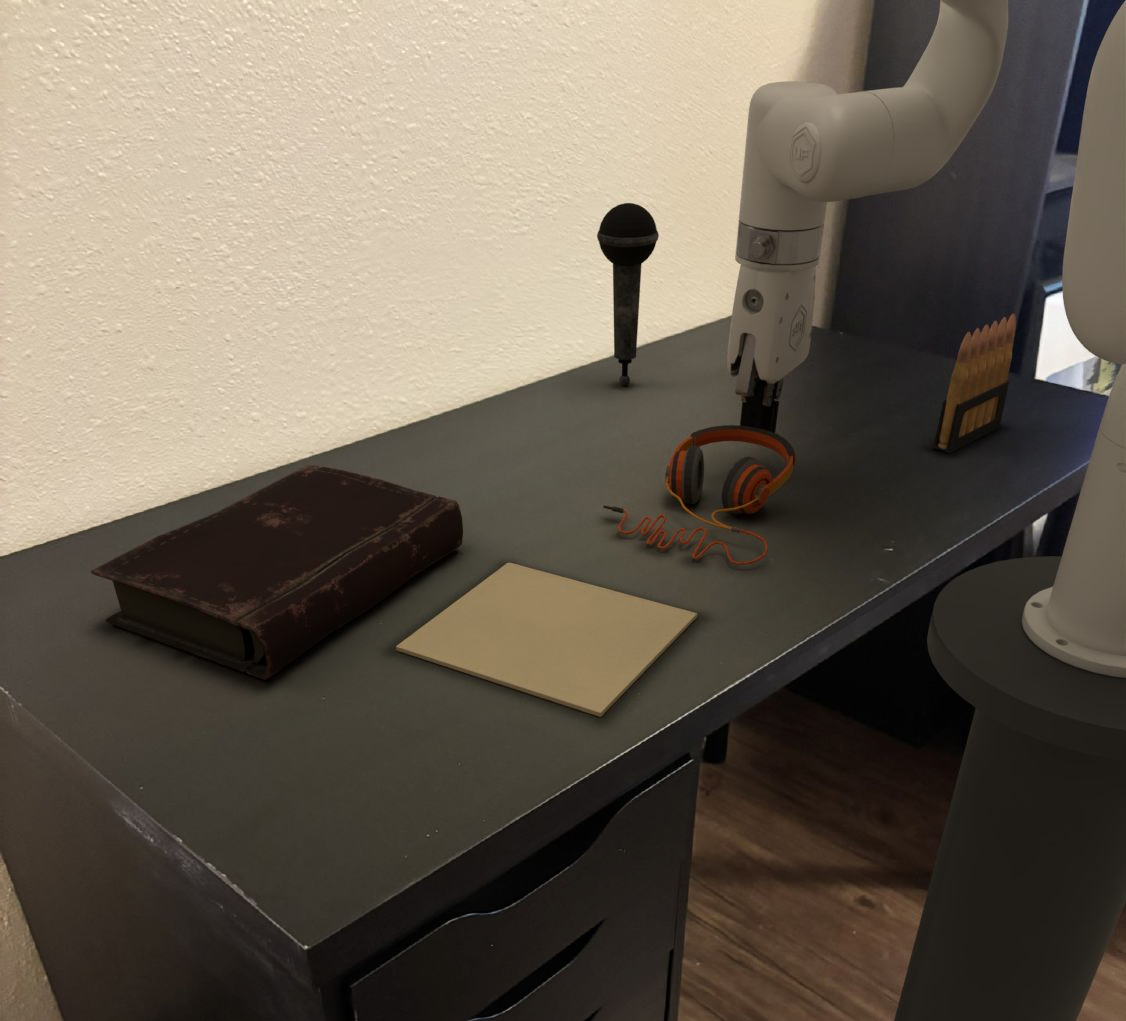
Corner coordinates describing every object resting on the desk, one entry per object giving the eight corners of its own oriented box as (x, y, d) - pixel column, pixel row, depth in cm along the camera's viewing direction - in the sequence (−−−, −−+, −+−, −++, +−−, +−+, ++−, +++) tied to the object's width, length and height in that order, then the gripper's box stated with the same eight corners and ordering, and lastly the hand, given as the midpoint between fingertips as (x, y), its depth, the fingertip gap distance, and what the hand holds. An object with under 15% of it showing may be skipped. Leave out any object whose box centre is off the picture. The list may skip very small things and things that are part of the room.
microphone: (628, 372, 137) (632, 194, 125) (664, 387, 132) (672, 204, 120) (584, 384, 133) (584, 202, 121) (620, 399, 129) (623, 212, 117)
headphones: (753, 597, 96) (837, 472, 106) (752, 548, 92) (840, 423, 103) (585, 554, 103) (680, 441, 113) (578, 507, 99) (677, 394, 110)
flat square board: (697, 617, 89) (697, 613, 88) (600, 717, 78) (600, 712, 77) (508, 566, 96) (508, 561, 96) (396, 650, 85) (395, 646, 85)
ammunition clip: (948, 453, 115) (972, 335, 108) (932, 449, 116) (955, 331, 109) (1000, 427, 121) (1026, 313, 114) (984, 422, 122) (1009, 310, 115)
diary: (467, 551, 98) (464, 498, 95) (274, 687, 81) (262, 628, 78) (307, 507, 106) (299, 457, 103) (100, 623, 89) (83, 567, 86)
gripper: (786, 268, 92) (761, 474, 104) (847, 231, 103) (818, 423, 114) (705, 256, 95) (689, 458, 107) (771, 221, 106) (751, 409, 117)
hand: (756, 439), depth 110 cm, fingers closed
